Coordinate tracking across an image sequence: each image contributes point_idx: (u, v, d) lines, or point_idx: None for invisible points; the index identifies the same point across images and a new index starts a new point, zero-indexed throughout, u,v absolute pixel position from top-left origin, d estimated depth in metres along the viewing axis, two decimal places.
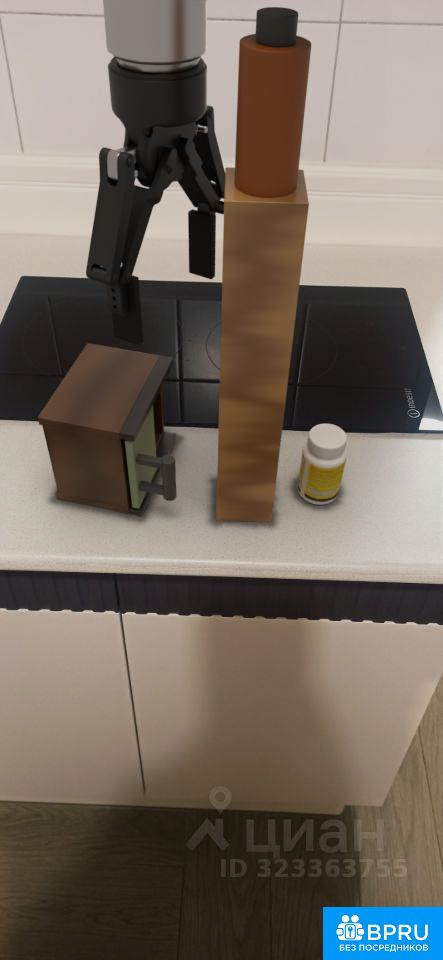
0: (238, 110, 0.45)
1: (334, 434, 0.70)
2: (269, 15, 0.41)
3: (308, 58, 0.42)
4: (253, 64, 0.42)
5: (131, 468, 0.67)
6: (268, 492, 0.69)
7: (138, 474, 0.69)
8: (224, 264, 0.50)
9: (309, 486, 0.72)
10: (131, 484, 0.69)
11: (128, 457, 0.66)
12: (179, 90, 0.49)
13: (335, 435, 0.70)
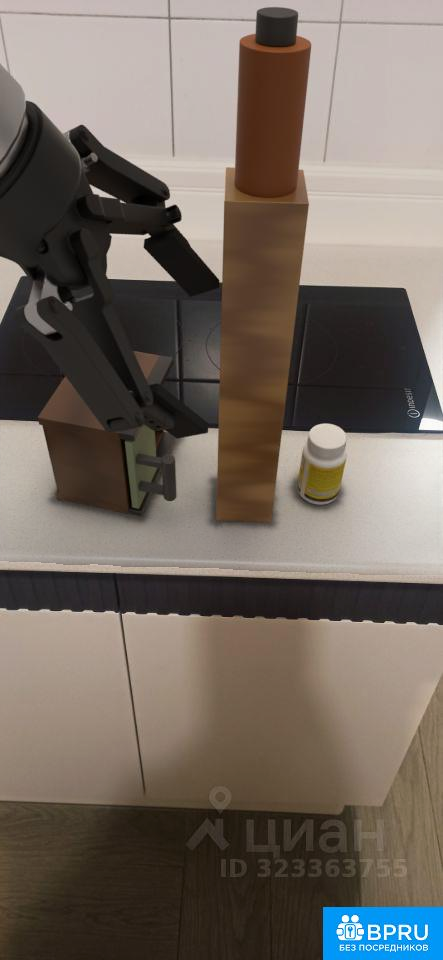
0: (238, 110, 0.45)
1: (334, 434, 0.70)
2: (269, 15, 0.41)
3: (308, 58, 0.42)
4: (253, 64, 0.42)
5: (131, 468, 0.67)
6: (268, 492, 0.69)
7: (138, 474, 0.69)
8: (224, 264, 0.50)
9: (309, 487, 0.72)
10: (131, 484, 0.69)
11: (128, 457, 0.66)
12: (35, 178, 0.33)
13: (335, 435, 0.70)
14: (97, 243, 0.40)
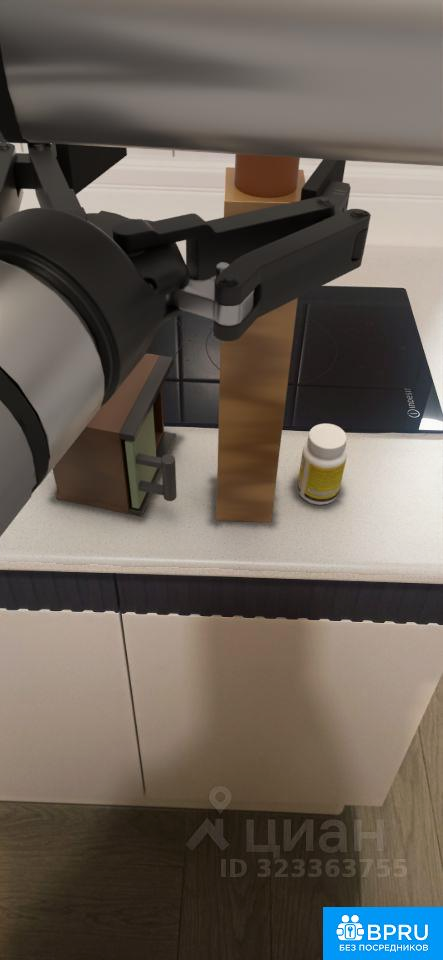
0: None
1: (334, 434, 0.70)
2: None
3: None
4: None
5: (131, 468, 0.67)
6: (268, 492, 0.69)
7: (138, 474, 0.69)
8: None
9: (309, 486, 0.72)
10: (131, 484, 0.69)
11: (128, 457, 0.66)
12: (77, 262, 0.23)
13: (335, 435, 0.70)
14: None
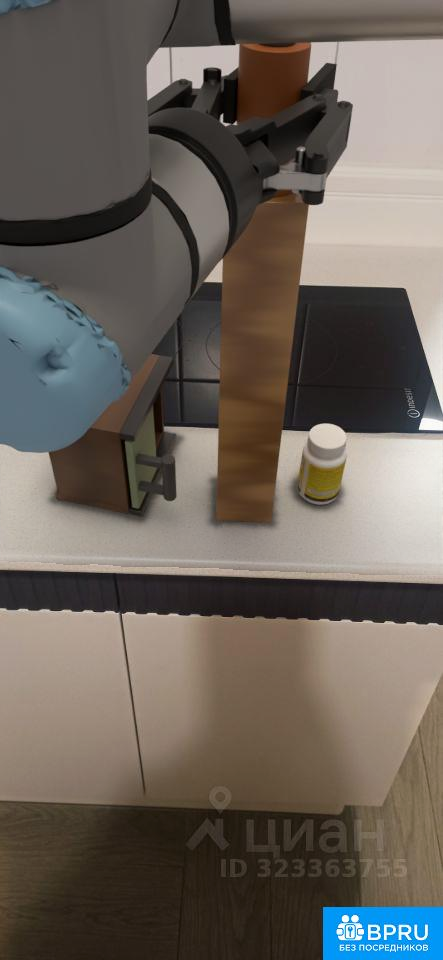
0: (238, 110, 0.45)
1: (334, 434, 0.70)
2: None
3: (308, 58, 0.42)
4: (253, 64, 0.42)
5: (131, 468, 0.67)
6: (268, 492, 0.69)
7: (138, 474, 0.69)
8: (224, 264, 0.50)
9: (309, 486, 0.72)
10: (131, 484, 0.69)
11: (128, 457, 0.66)
12: (210, 142, 0.31)
13: (335, 435, 0.70)
14: None
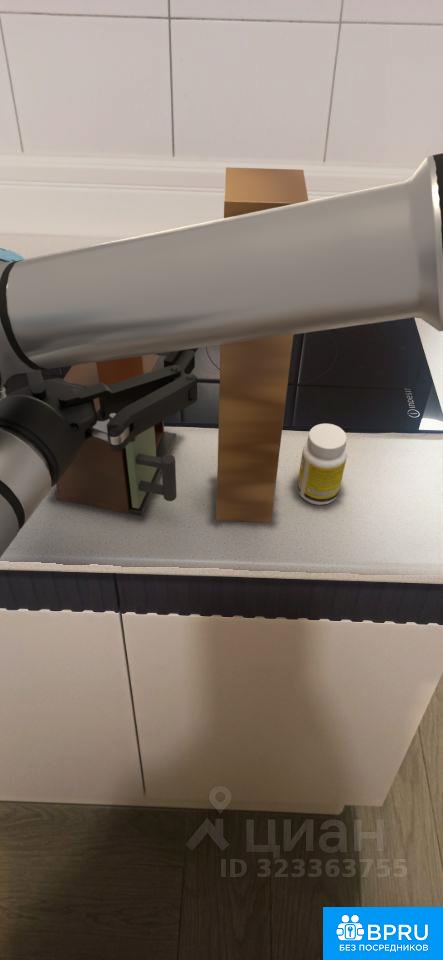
0: None
1: (334, 434, 0.70)
2: None
3: None
4: None
5: (131, 468, 0.67)
6: (268, 492, 0.69)
7: (138, 474, 0.69)
8: None
9: (309, 486, 0.72)
10: (131, 484, 0.69)
11: (128, 457, 0.66)
12: (37, 426, 0.50)
13: (335, 435, 0.70)
14: (62, 388, 0.57)
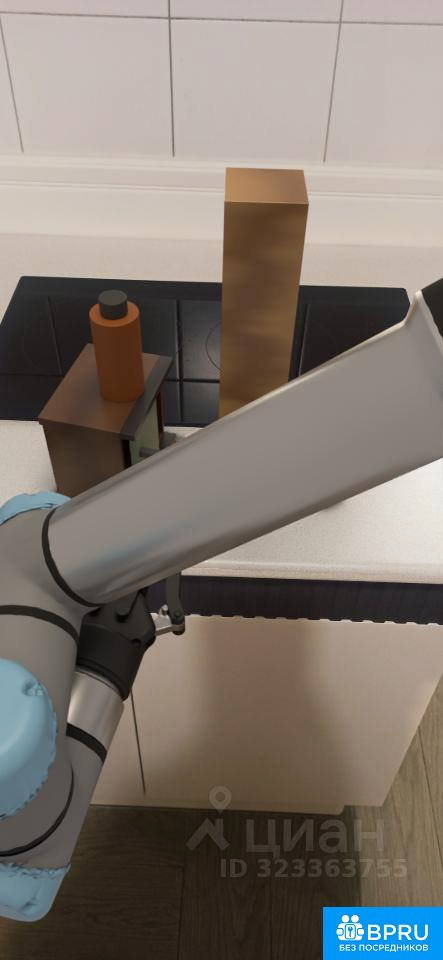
0: (94, 350, 0.64)
1: None
2: (105, 302, 0.60)
3: (136, 324, 0.62)
4: (97, 330, 0.61)
5: (134, 461, 0.68)
6: None
7: None
8: (224, 264, 0.50)
9: None
10: None
11: (132, 450, 0.67)
12: (107, 658, 0.51)
13: None
14: None
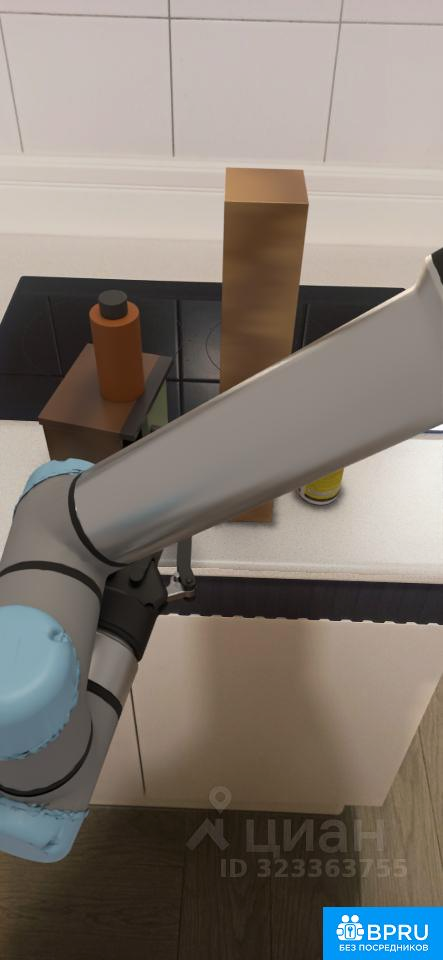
0: (94, 350, 0.64)
1: None
2: (105, 302, 0.60)
3: (136, 324, 0.62)
4: (97, 330, 0.61)
5: None
6: None
7: None
8: (224, 264, 0.50)
9: (309, 487, 0.72)
10: None
11: (143, 428, 0.69)
12: (122, 620, 0.53)
13: None
14: None
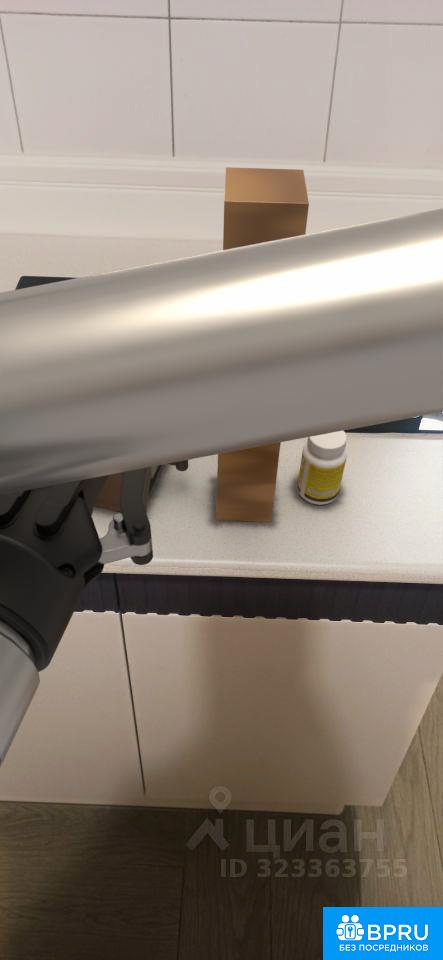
0: None
1: (334, 434, 0.70)
2: None
3: None
4: None
5: None
6: (268, 492, 0.69)
7: None
8: None
9: (309, 486, 0.72)
10: None
11: None
12: (7, 590, 0.29)
13: (335, 435, 0.70)
14: (39, 499, 0.35)
